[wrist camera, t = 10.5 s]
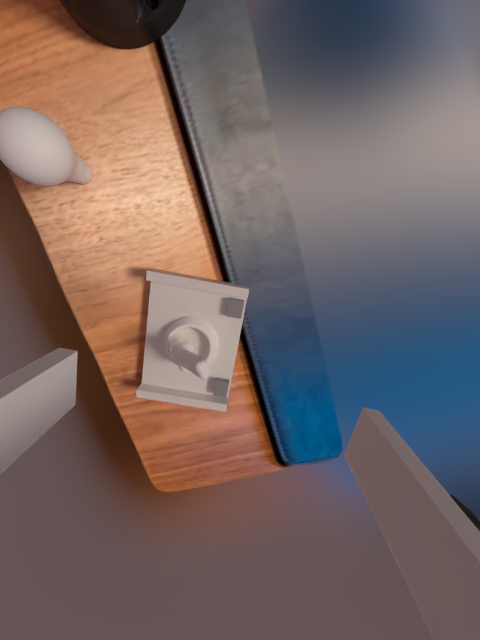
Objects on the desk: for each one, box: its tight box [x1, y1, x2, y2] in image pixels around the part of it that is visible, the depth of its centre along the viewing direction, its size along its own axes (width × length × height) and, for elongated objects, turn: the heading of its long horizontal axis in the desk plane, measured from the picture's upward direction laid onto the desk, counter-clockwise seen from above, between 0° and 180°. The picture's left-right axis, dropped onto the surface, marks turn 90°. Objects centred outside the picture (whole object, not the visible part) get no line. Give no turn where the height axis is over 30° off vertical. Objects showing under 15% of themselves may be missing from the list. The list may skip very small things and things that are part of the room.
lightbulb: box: [0, 107, 93, 186], centre depth 26 cm, size 6×6×11 cm
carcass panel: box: [136, 269, 249, 412], centre depth 35 cm, size 18×13×3 cm
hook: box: [164, 317, 219, 380], centre depth 32 cm, size 8×12×7 cm
